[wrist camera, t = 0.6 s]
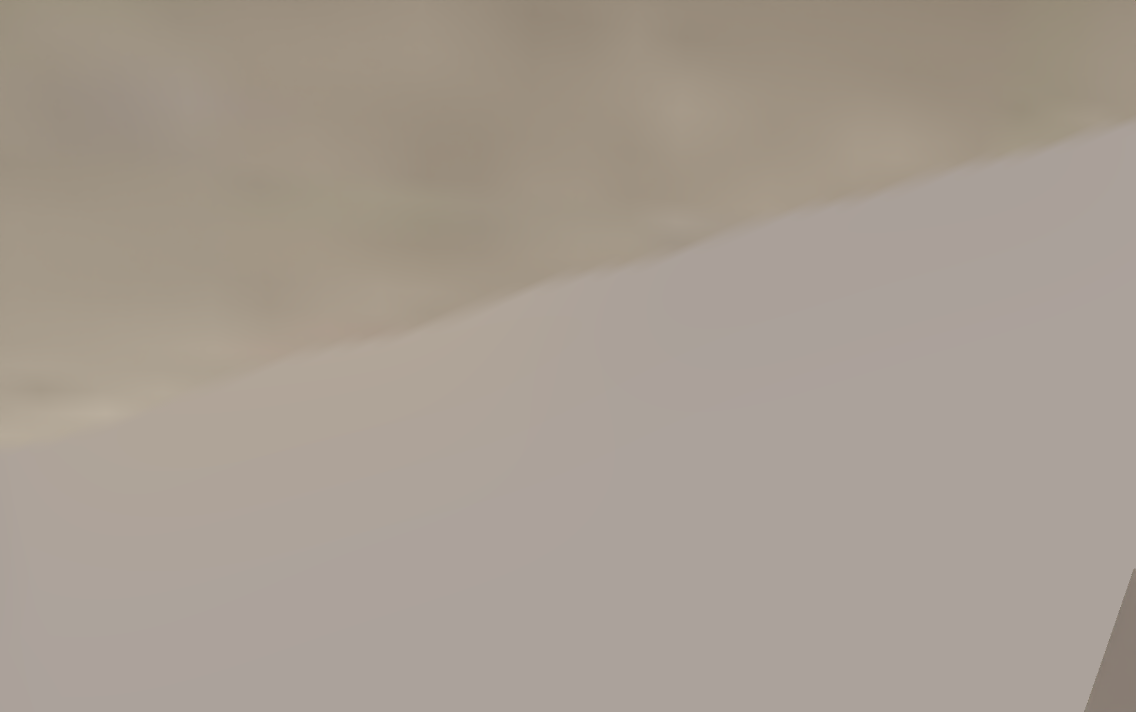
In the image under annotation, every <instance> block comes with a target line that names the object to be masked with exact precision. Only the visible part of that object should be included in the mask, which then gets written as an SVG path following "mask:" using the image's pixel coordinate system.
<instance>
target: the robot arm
mask: <svg viewBox="0 0 1136 712" xmlns="http://www.w3.org/2000/svg"><path fill="white" fill-rule="evenodd" d="M1084 712H1136V569H1134V570H1133V573H1132V576H1131V579H1130V582H1129V584H1128V588H1127V590H1126V593H1125V596H1124V599H1123V602H1122V605H1121V607H1120V610H1119V613H1118V616H1117V620H1116V622H1115V625H1114V628H1113V631H1112V634H1111V637H1110V639H1109V642H1108V645H1107V648H1106V651H1105V654H1104V657H1103V659H1102V662H1101V665H1100V668H1099V671H1098V674H1097V677H1096V679H1095V683H1094V685H1093V688H1092V691H1091V694H1090V697H1089V700H1088V703H1087V705H1086V709H1085V711H1084Z"/></svg>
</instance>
